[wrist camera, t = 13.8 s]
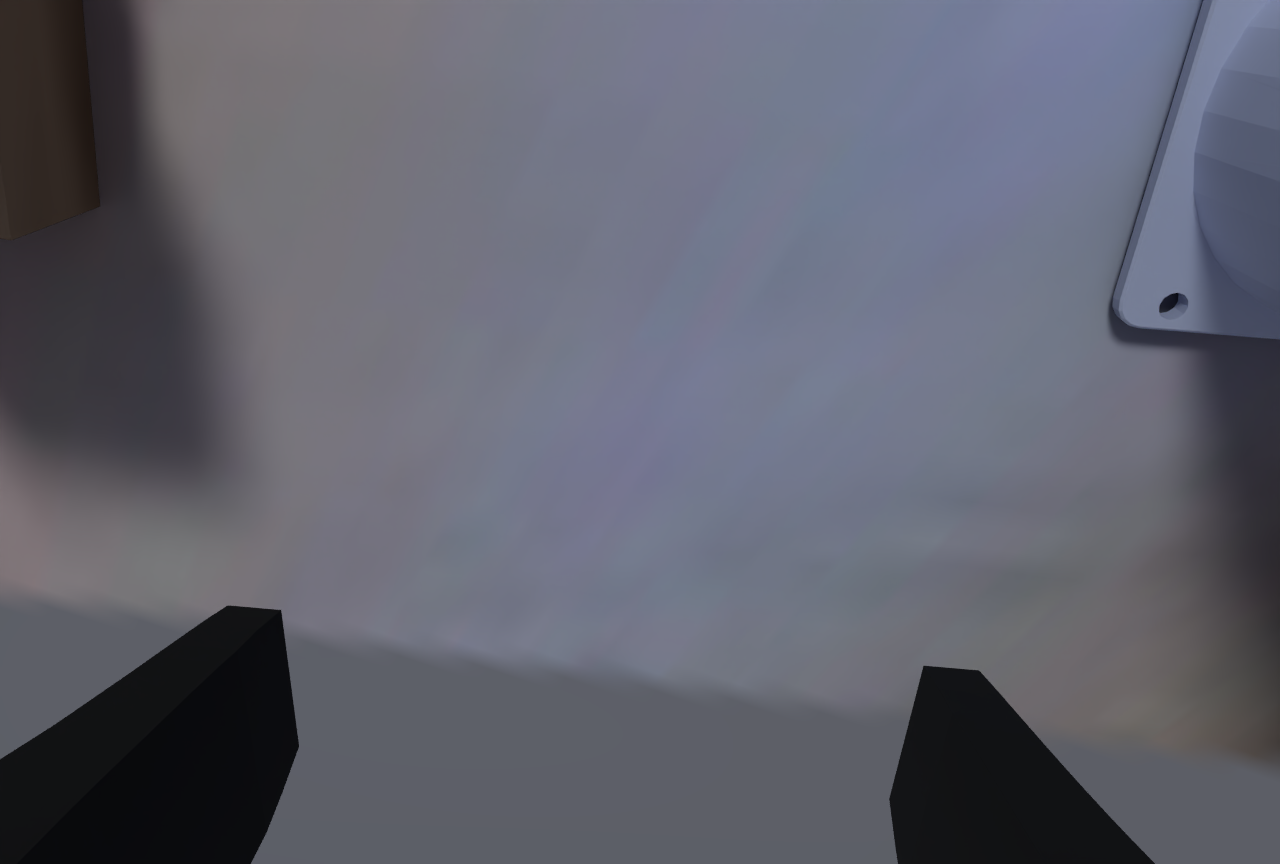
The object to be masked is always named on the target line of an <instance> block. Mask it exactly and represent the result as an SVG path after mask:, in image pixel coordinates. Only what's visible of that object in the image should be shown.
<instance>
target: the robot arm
mask: <svg viewBox="0 0 1280 864" xmlns="http://www.w3.org/2000/svg"><path fill="white" fill-rule="evenodd" d="M1173 293H1178V294H1179V295H1178V302H1177V304H1176V305H1175V307H1174V308H1172V309H1171V310H1169V311H1168V312H1163V313H1159V305H1160V303H1161V302H1162V300H1163V299H1164V298H1165V297H1167V296H1168V295H1170V294H1173ZM1112 307H1113V309H1114V312H1115V315H1117V316H1118V317H1119V318H1120V319H1121V320H1122V321H1124V322H1125V323H1126V324H1127V325H1129V326H1132V327H1135V328H1141V329H1154V330H1166V331H1179V332H1192V333H1204V334H1217V335H1229V336H1242V337H1254V338H1267V339H1280V0H1203V3H1202V7H1201V10H1200V13H1199V17H1198V20H1197V23H1196V26H1195V30H1194V33H1193V36H1192V40H1191V43H1190V46H1189V49H1188V53H1187V56H1186V59H1185V63H1184V66H1183V69H1182V72H1181V76H1180V79H1179V82H1178V86H1177V89H1176V92H1175V95H1174V99H1173V102H1172V105H1171V109H1170V112H1169V115H1168V118H1167V122H1166V125H1165V128H1164V131H1163V135H1162V138H1161V141H1160V145H1159V148H1158V151H1157V154H1156V158H1155V161H1154V164H1153V168H1152V171H1151V174H1150V177H1149V181H1148V184H1147V187H1146V191H1145V194H1144V197H1143V200H1142V204H1141V207H1140V210H1139V214H1138V217H1137V220H1136V223H1135V227H1134V230H1133V233H1132V237H1131V240H1130V243H1129V246H1128V250H1127V253H1126V256H1125V259H1124V263H1123V266H1122V269H1121V273H1120V276H1119V279H1118V282H1117V286H1116V289H1115V292H1114V296H1113V304H1112ZM298 748H299V743H298V735H297V728H296V720H295V712H294V705H293V697H292V689H291V682H290V674H289V667H288V660H287V651H286V644H285V636H284V629H283V621H282V613H281V610H274V609H262V608H251V607H239V606H226V607H225V608H223V609H222V610H220V611H219V612H217V613H215V614H214V615H212V616H211V617H209V618H208V619H206V620H205V621H203V622H202V623H200V624H199V625H198V626H196V627H195V628H193V629H192V630H190V631H189V632H188V633H186V634H185V635H184V636H182V637H181V638H179V639H178V640H176V641H175V642H173V643H172V644H170V645H169V646H168V647H166V648H165V649H163V650H162V651H160V652H159V653H158V654H156V655H155V656H153V657H152V658H151V659H149V660H148V661H146V662H145V663H143V664H142V665H141V666H139V667H138V668H136V669H135V670H134V671H132V672H131V673H129V674H128V675H126V676H125V677H123V678H122V679H121V680H119V681H118V682H116V683H115V684H114V685H112V686H110V687H109V688H107V689H106V690H105V691H103V692H102V693H100V694H99V695H97V696H96V697H94V698H93V699H91V700H90V701H89V702H87V703H86V704H84V705H83V706H81V707H80V708H78V709H77V710H75V711H74V712H73V713H71V714H70V715H68V716H67V717H65V718H64V719H62V720H61V721H60V722H58V723H57V724H55V725H53V726H52V727H51V728H49V729H47V730H46V731H44V732H43V733H41V734H39V735H38V736H36V737H35V738H33V739H32V740H30V741H28V742H27V743H25V744H24V745H22V746H21V747H19V748H17V749H16V750H14V751H13V752H11V753H10V754H8V755H6V756H5V757H3V758H2V759H0V864H251V862H252V860H253V858H254V856H255V854H256V852H257V850H258V848H259V846H260V844H261V842H262V840H263V838H264V836H265V834H266V832H267V830H268V827H269V825H270V822H271V820H272V817H273V815H274V812H275V810H276V807H277V805H278V802H279V799H280V796H281V794H282V792H283V789H284V786H285V784H286V781H287V778H288V775H289V773H290V770H291V767H292V764H293V761H294V759H295V756H296V753H297V751H298ZM889 800H890V807H891V816H892V822H893V831H894V839H895V846H896V853H897V860H898V864H1155V863H1154V862H1153V861H1152V860H1151V859H1150V858H1149V857H1148V856H1147V855H1146V854H1145V853H1144V852H1143V851H1142V850H1141V849H1140V848H1139V847H1138V846H1137V845H1136V844H1135V843H1134V842H1133V841H1132V840H1131V839H1130V838H1129V837H1128V835H1127V834H1125V832H1124V831H1123V830H1122V829H1121V828H1120V827H1119V826H1118V825H1117V824H1116V823H1115V822H1114V821H1113V820H1112V819H1111V818H1110V817H1109V816H1108V814H1107V813H1106V812H1105V811H1104V810H1103V809H1102V808H1101V807H1100V806H1099V805H1098V804H1097V802H1096V801H1095V800H1094V799H1093V798H1092V797H1091V796H1090V795H1089V794H1088V793H1087V792H1086V791H1085V790H1084V788H1083V787H1082V786H1081V785H1080V784H1079V783H1078V782H1077V781H1076V780H1075V778H1074V777H1073V776H1072V775H1071V774H1070V773H1069V772H1068V771H1067V770H1066V768H1065V767H1064V766H1063V765H1062V764H1061V763H1060V762H1059V761H1058V759H1057V758H1056V757H1055V756H1054V755H1053V754H1052V753H1051V752H1050V750H1049V749H1048V748H1047V747H1046V746H1045V745H1044V744H1043V742H1042V741H1041V740H1040V739H1039V738H1038V737H1037V736H1036V735H1035V733H1034V732H1033V731H1032V730H1031V729H1030V728H1029V727H1028V725H1027V724H1026V723H1025V722H1024V721H1023V720H1022V719H1021V717H1020V716H1019V715H1018V714H1017V713H1016V712H1015V710H1014V709H1013V708H1012V707H1011V706H1010V705H1009V704H1008V702H1007V701H1006V700H1005V699H1004V698H1003V697H1002V696H1001V694H1000V693H999V692H998V691H997V690H996V689H995V688H994V687H993V685H992V684H991V683H990V682H989V681H988V680H987V679H986V678H985V677H984V675H983V674H982V673H981V672H980V671H978V670H967V669H955V668H944V667H932V666H923V670H922V674H921V678H920V682H919V686H918V690H917V694H916V698H915V701H914V705H913V709H912V713H911V717H910V721H909V725H908V729H907V732H906V736H905V740H904V744H903V748H902V752H901V756H900V760H899V764H898V768H897V771H896V775H895V779H894V783H893V787H892V791H891V795H890V799H889Z"/></svg>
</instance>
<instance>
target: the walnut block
mask: <svg viewBox="0 0 1280 864" xmlns="http://www.w3.org/2000/svg"><path fill="white" fill-rule="evenodd" d="M99 206H100V199H99V188H98V176H97V165H96V153H95V142H94V131H93V119H92V108H91V96H90V85H89V74H88V62H87V51H86V39H85V28H84V16H83V5H82V0H0V239H5V240H14V239H16V238H19V237H22V236H24V235H27V234H29V233H32V232H35V231H37V230H40V229H42V228H45V227H48V226H50V225H53V224H55V223H58V222H60V221H63V220H66V219H68V218H71V217H73V216H76V215H79V214H81V213H84V212H86V211H89V210H92V209H94V208H97V207H99Z"/></svg>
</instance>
